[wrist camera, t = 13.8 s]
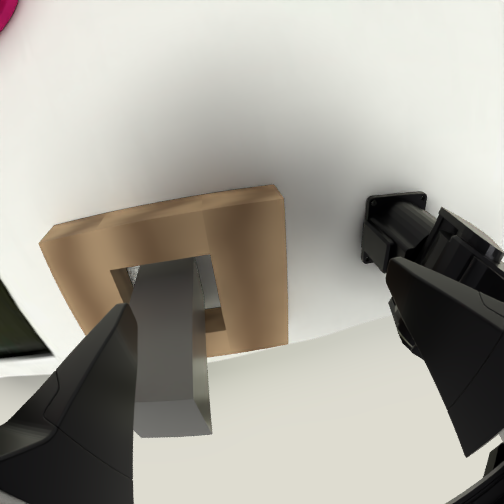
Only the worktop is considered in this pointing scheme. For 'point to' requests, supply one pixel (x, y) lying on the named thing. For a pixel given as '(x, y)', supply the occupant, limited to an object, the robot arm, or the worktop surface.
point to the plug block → (171, 351)
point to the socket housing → (178, 247)
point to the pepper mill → (6, 11)
